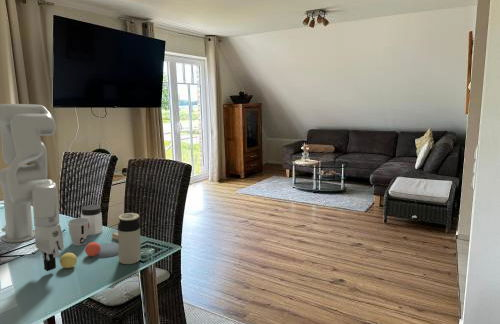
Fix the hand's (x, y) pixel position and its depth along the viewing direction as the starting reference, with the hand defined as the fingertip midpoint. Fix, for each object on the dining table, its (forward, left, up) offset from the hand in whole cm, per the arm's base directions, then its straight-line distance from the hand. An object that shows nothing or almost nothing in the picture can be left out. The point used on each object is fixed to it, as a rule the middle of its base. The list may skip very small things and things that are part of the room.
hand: (50, 269), depth 122 cm
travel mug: (+20, +18, -2) cm, 27 cm away
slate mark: (+6, +22, -2) cm, 23 cm away
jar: (-13, +36, -2) cm, 38 cm away
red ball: (+4, +16, +1) cm, 17 cm away
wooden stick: (+9, +32, -2) cm, 33 cm away
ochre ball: (+3, +6, +1) cm, 6 cm away
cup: (-9, +24, -2) cm, 26 cm away
